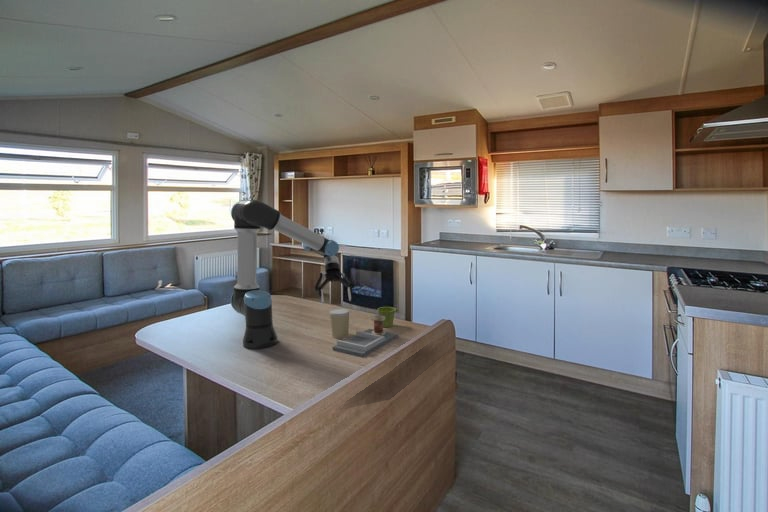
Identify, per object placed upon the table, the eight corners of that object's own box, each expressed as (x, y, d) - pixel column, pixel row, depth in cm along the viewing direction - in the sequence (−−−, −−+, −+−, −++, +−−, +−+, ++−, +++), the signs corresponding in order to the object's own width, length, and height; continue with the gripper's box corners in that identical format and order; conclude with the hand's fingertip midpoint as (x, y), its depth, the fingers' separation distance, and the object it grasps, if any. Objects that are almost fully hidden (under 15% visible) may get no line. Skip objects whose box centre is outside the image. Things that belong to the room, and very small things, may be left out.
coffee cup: (351, 332, 200) (350, 308, 198) (348, 339, 190) (347, 314, 189) (332, 332, 201) (331, 308, 199) (328, 338, 191) (327, 313, 190)
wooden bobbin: (374, 336, 189) (374, 319, 187) (369, 332, 195) (369, 316, 193) (387, 334, 191) (387, 318, 190) (382, 330, 197) (382, 314, 196)
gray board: (363, 357, 169) (362, 349, 168) (332, 350, 177) (332, 342, 177) (397, 337, 192) (397, 329, 192) (369, 331, 201) (369, 324, 200)
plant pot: (385, 321, 216) (385, 305, 215) (399, 325, 210) (399, 308, 209) (373, 326, 209) (373, 309, 208) (388, 329, 203) (388, 312, 202)
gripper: (354, 268, 222) (360, 302, 209) (307, 271, 216) (311, 306, 204) (356, 260, 216) (362, 294, 204) (308, 263, 210) (311, 298, 198)
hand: (336, 300), depth 204 cm, fingers open, 13 cm apart
